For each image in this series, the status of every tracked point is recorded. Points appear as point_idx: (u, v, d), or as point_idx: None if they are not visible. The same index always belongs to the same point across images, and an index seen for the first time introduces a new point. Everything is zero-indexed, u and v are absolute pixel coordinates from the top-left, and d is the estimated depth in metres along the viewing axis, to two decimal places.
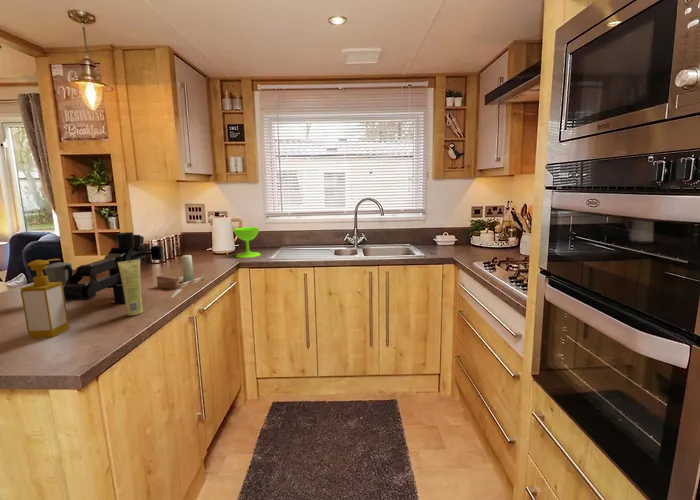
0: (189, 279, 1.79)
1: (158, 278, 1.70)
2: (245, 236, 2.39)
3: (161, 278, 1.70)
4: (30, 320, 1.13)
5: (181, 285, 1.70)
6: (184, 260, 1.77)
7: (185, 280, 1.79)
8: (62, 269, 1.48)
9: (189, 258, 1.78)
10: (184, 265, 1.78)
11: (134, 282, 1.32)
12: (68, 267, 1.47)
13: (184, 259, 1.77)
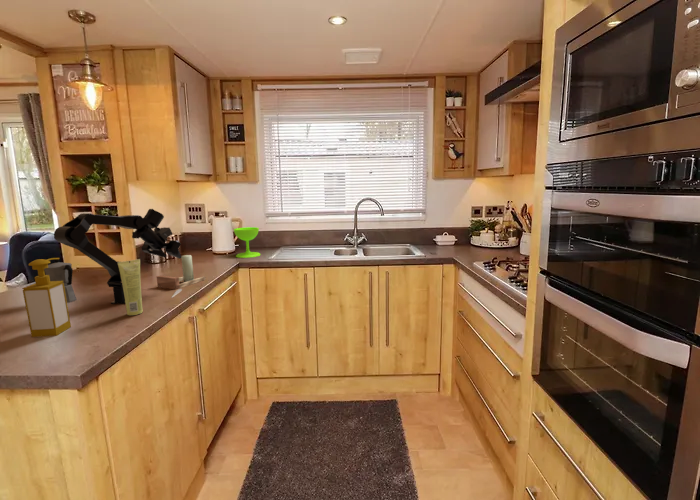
0: (189, 279, 1.79)
1: (158, 278, 1.70)
2: (245, 236, 2.39)
3: (161, 278, 1.70)
4: (32, 319, 1.14)
5: (181, 285, 1.70)
6: (184, 260, 1.77)
7: (185, 280, 1.79)
8: (62, 269, 1.48)
9: (189, 258, 1.78)
10: (184, 265, 1.78)
11: (134, 282, 1.32)
12: (68, 267, 1.47)
13: (184, 259, 1.77)
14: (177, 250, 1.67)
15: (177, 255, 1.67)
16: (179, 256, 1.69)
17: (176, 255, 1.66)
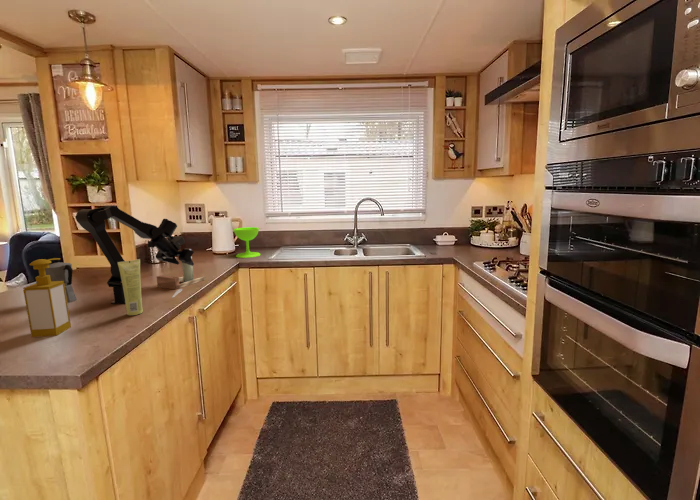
0: (189, 279, 1.79)
1: (158, 278, 1.70)
2: (245, 236, 2.39)
3: (161, 278, 1.70)
4: (33, 318, 1.14)
5: (181, 285, 1.70)
6: None
7: (185, 280, 1.79)
8: (62, 269, 1.48)
9: None
10: (184, 265, 1.78)
11: (134, 282, 1.32)
12: (68, 267, 1.47)
13: None
14: (190, 258, 1.73)
15: (190, 263, 1.74)
16: (191, 263, 1.76)
17: (189, 263, 1.73)
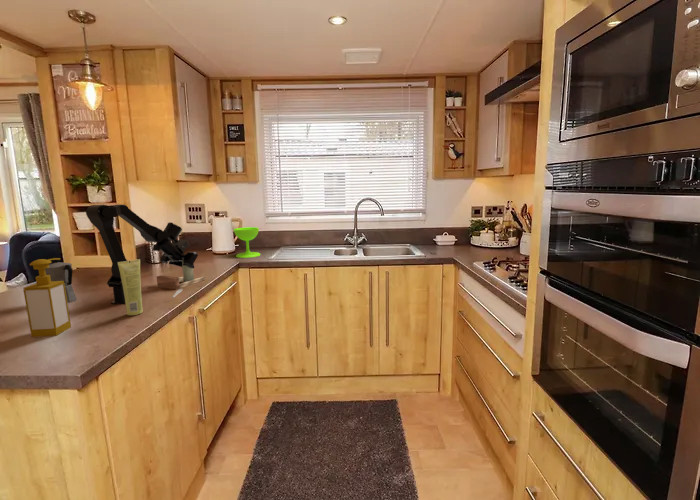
0: (189, 279, 1.79)
1: (158, 278, 1.70)
2: (245, 236, 2.39)
3: (161, 278, 1.70)
4: (33, 318, 1.14)
5: (181, 285, 1.70)
6: None
7: (185, 280, 1.79)
8: (62, 269, 1.48)
9: None
10: None
11: (134, 282, 1.32)
12: (68, 267, 1.47)
13: None
14: None
15: (190, 265, 1.77)
16: (192, 266, 1.79)
17: (190, 265, 1.77)
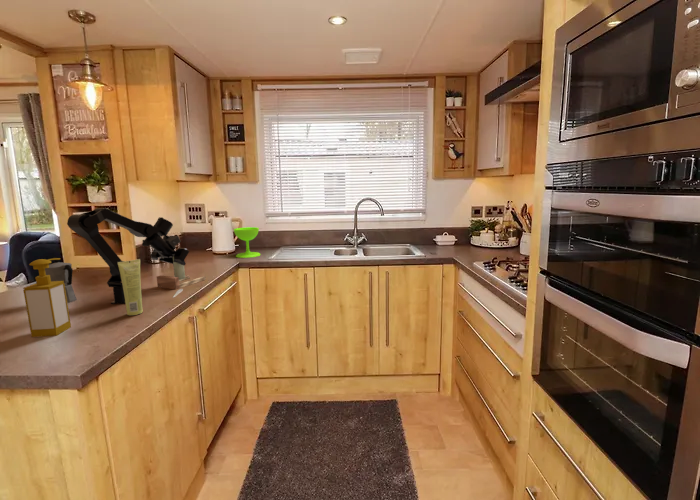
0: (180, 276, 1.74)
1: (158, 278, 1.70)
2: (245, 236, 2.39)
3: (161, 278, 1.70)
4: (33, 318, 1.14)
5: (181, 285, 1.70)
6: None
7: None
8: (62, 269, 1.48)
9: None
10: (175, 262, 1.73)
11: (134, 282, 1.32)
12: (68, 267, 1.47)
13: None
14: None
15: (181, 262, 1.72)
16: (183, 263, 1.74)
17: (180, 262, 1.72)
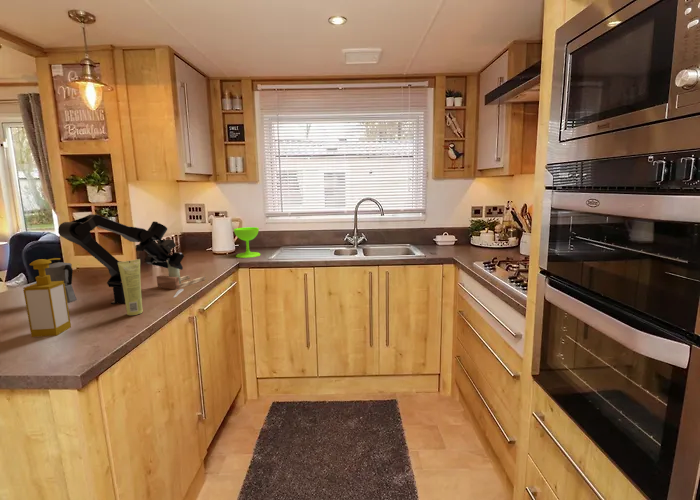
0: None
1: (158, 278, 1.70)
2: (245, 236, 2.39)
3: (161, 278, 1.70)
4: (33, 318, 1.14)
5: (181, 285, 1.70)
6: None
7: None
8: (62, 269, 1.48)
9: None
10: (170, 269, 1.70)
11: (134, 282, 1.32)
12: (68, 267, 1.47)
13: None
14: None
15: (178, 267, 1.70)
16: (180, 267, 1.71)
17: (178, 267, 1.69)
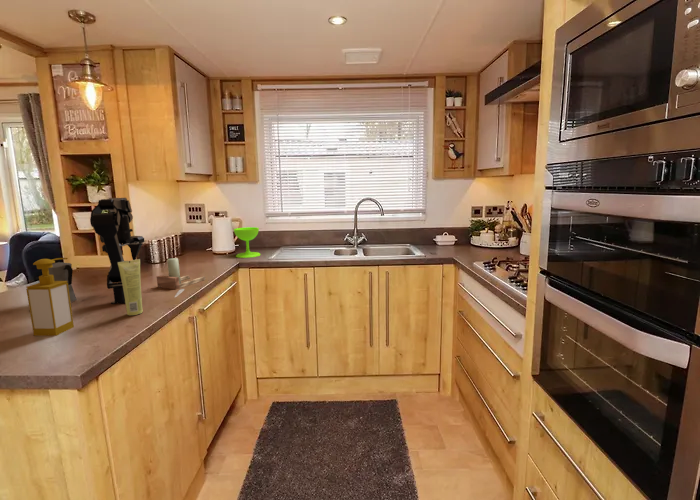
0: None
1: (158, 278, 1.70)
2: (245, 236, 2.39)
3: (161, 278, 1.70)
4: (35, 317, 1.15)
5: (181, 285, 1.70)
6: (170, 263, 1.70)
7: None
8: (62, 269, 1.48)
9: (175, 261, 1.71)
10: (170, 269, 1.70)
11: (134, 282, 1.32)
12: (68, 267, 1.47)
13: (170, 262, 1.70)
14: None
15: None
16: None
17: None
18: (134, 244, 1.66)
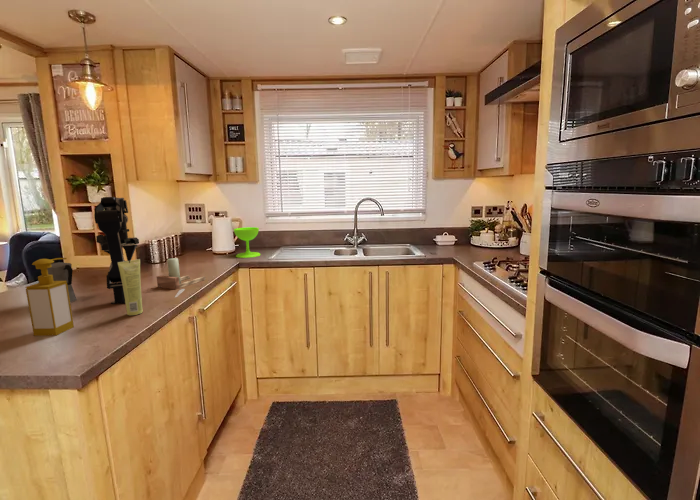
0: None
1: (158, 278, 1.70)
2: (245, 236, 2.39)
3: (161, 278, 1.70)
4: (34, 318, 1.15)
5: (181, 285, 1.70)
6: (170, 263, 1.70)
7: None
8: (62, 269, 1.48)
9: (175, 261, 1.71)
10: (170, 269, 1.70)
11: (134, 282, 1.32)
12: (68, 267, 1.47)
13: (170, 262, 1.70)
14: None
15: None
16: None
17: None
18: (129, 245, 1.66)
